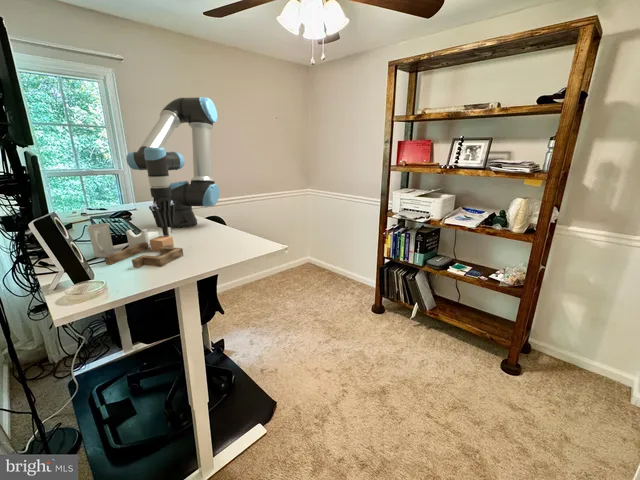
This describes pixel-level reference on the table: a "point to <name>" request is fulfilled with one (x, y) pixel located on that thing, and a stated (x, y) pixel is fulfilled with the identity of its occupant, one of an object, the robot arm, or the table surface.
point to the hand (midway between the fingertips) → (168, 242)
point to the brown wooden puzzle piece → (166, 251)
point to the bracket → (140, 237)
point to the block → (160, 242)
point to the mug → (101, 239)
